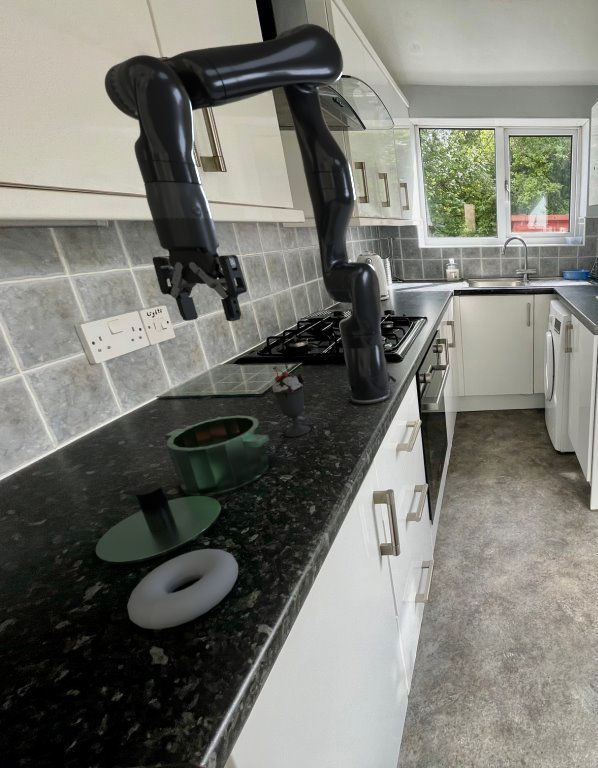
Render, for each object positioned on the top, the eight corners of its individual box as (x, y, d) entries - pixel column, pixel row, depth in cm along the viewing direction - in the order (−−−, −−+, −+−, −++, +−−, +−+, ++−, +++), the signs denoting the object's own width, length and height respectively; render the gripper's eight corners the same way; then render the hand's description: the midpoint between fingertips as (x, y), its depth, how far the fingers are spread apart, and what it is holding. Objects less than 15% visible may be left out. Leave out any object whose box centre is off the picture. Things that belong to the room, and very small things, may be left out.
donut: (249, 556, 53) (155, 577, 50) (243, 534, 52) (146, 554, 48) (229, 619, 44) (113, 650, 41) (222, 595, 43) (101, 625, 40)
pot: (214, 453, 78) (202, 413, 75) (298, 460, 75) (288, 418, 72) (149, 491, 67) (131, 445, 64) (244, 501, 64) (230, 454, 61)
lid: (170, 498, 65) (156, 459, 63) (244, 506, 63) (232, 466, 60) (69, 561, 52) (47, 515, 50) (157, 574, 50) (137, 527, 48)
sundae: (275, 440, 83) (258, 370, 78) (285, 426, 89) (270, 360, 84) (310, 437, 84) (296, 367, 79) (318, 423, 90) (305, 358, 85)
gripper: (241, 216, 65) (265, 316, 71) (167, 218, 68) (196, 315, 74) (200, 214, 59) (230, 325, 64) (120, 217, 61) (155, 324, 67)
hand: (212, 320), depth 69 cm, fingers open, 8 cm apart
